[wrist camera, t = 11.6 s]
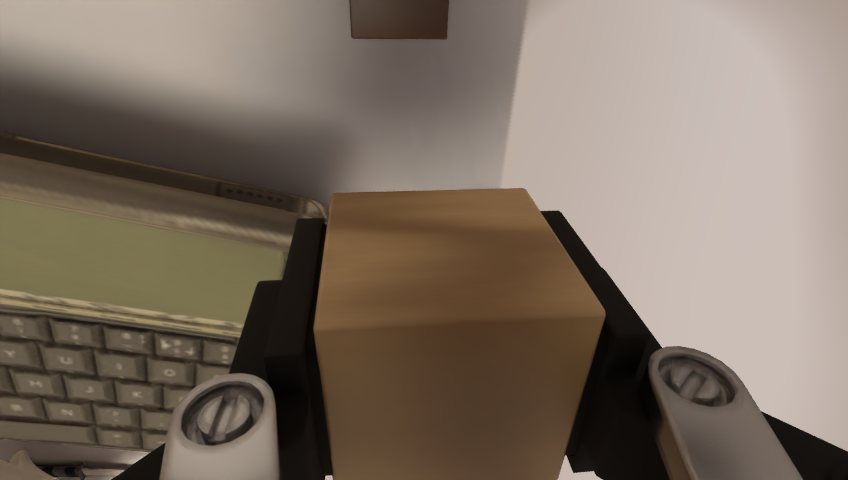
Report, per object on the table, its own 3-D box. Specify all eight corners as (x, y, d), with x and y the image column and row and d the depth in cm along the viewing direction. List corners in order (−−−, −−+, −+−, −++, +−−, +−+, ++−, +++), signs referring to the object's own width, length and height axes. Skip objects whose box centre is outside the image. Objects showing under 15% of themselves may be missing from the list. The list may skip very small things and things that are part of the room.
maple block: (343, 339, 12) (335, 502, 8) (330, 191, 10) (311, 328, 6) (504, 330, 12) (558, 482, 9) (526, 186, 10) (609, 312, 7)
